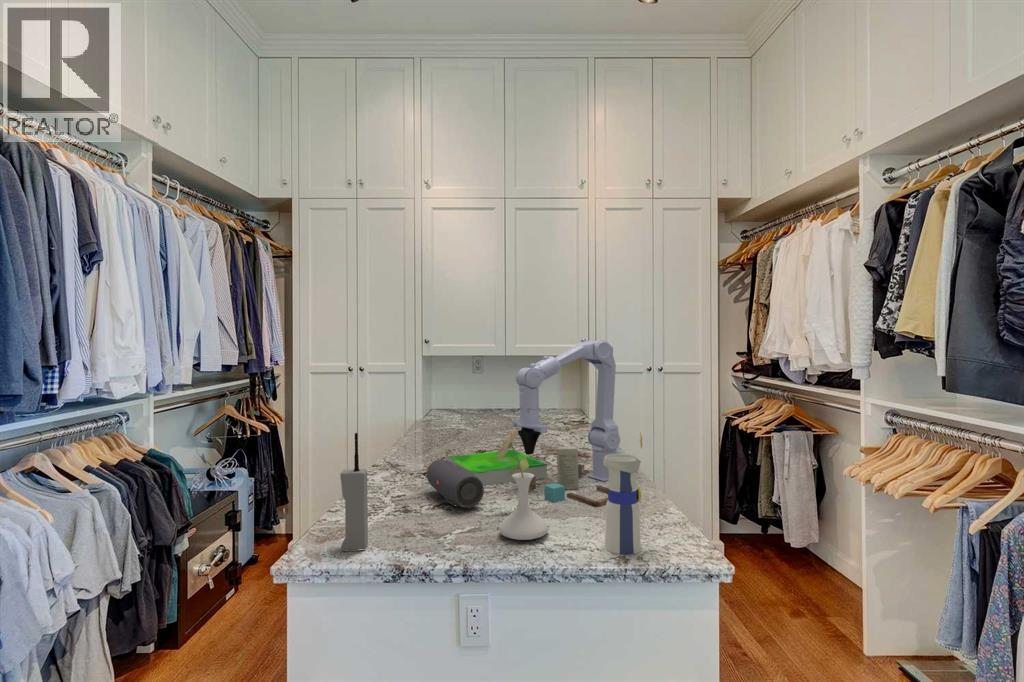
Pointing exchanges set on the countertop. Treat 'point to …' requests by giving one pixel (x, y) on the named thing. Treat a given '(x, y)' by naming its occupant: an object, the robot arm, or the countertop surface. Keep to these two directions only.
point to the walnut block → (532, 483)
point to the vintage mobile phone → (355, 505)
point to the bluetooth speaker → (455, 483)
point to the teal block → (554, 492)
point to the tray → (498, 466)
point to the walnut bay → (590, 501)
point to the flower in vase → (521, 502)
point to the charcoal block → (579, 470)
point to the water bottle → (623, 504)
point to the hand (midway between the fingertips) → (529, 454)
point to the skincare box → (568, 466)
